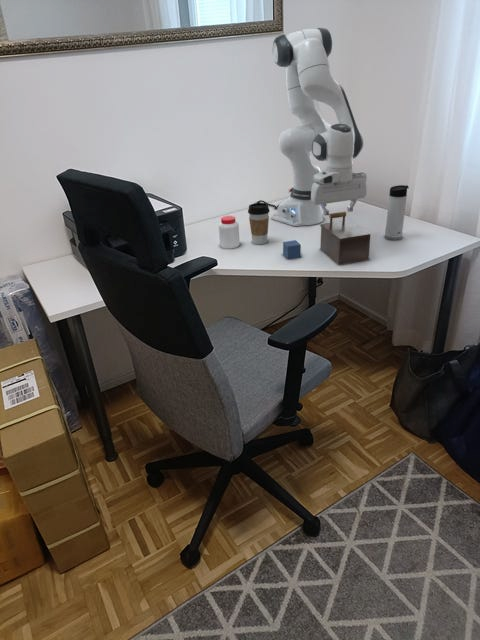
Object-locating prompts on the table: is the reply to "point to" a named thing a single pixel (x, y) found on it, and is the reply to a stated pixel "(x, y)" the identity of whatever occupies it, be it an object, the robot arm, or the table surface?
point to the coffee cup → (259, 222)
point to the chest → (345, 248)
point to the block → (291, 249)
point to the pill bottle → (229, 232)
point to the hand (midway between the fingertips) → (338, 213)
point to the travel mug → (396, 212)
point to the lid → (344, 228)
